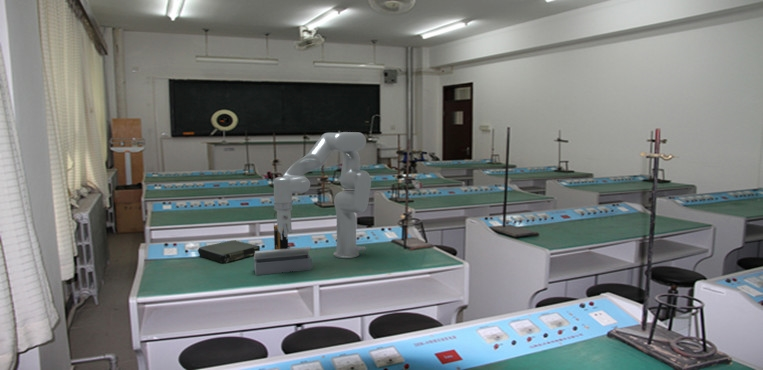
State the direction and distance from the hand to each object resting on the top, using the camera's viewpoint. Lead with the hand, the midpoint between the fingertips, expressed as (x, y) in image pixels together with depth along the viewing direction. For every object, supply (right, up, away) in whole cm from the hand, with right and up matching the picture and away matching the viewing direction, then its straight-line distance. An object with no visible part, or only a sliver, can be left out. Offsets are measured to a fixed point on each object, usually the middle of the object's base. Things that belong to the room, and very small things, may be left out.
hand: (284, 248), depth 206 cm
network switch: (-32, -8, +28) cm, 44 cm away
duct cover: (-2, -3, +5) cm, 6 cm away
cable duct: (-1, -10, +5) cm, 11 cm away
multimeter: (-7, -6, +39) cm, 40 cm away
